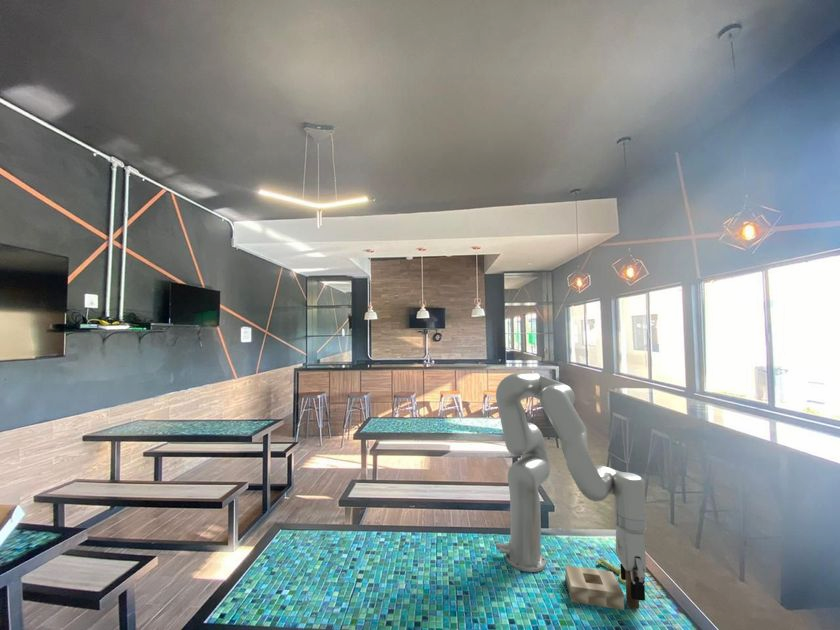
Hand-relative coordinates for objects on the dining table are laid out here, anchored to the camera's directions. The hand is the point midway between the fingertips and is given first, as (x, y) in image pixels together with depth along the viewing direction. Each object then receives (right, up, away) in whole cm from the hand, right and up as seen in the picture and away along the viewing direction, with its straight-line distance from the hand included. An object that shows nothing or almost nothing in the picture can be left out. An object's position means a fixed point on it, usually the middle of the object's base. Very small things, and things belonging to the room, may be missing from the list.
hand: (632, 588), depth 100 cm
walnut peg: (0, -4, 0) cm, 4 cm away
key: (+3, -6, +13) cm, 15 cm away
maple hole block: (-9, -4, +4) cm, 10 cm away
